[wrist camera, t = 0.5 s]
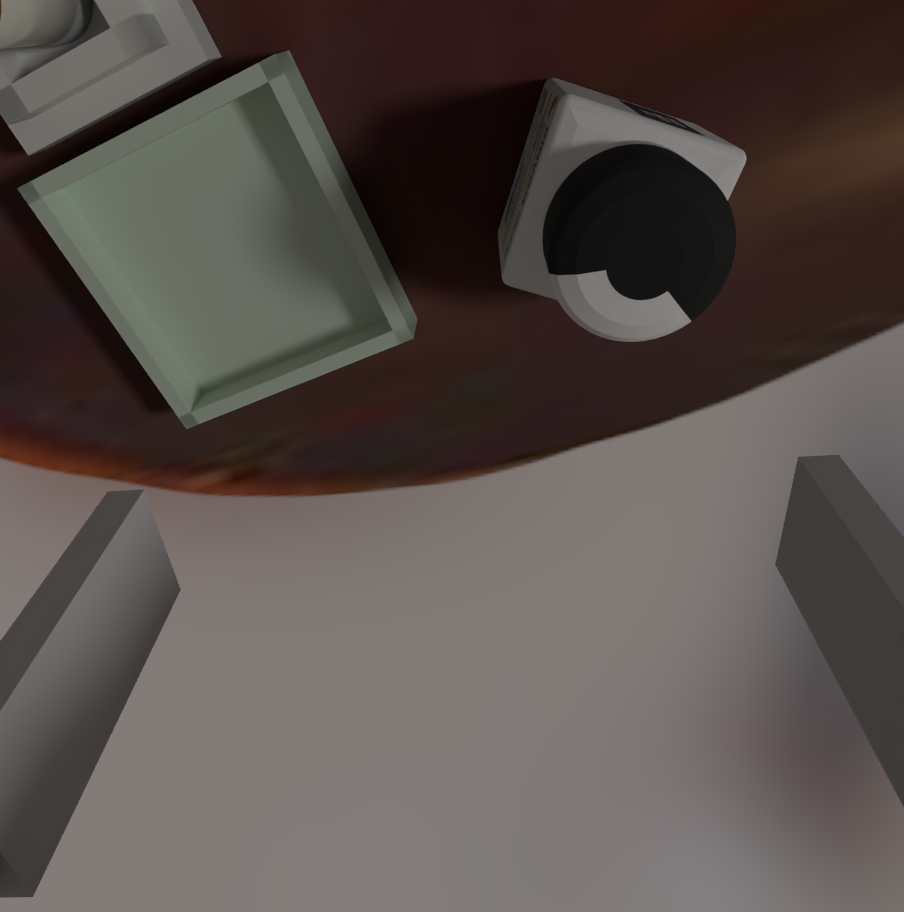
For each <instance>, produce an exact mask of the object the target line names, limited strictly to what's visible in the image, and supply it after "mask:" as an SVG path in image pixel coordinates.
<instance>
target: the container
mask: <svg viewBox="0 0 904 912" xmlns="http://www.w3.org/2000/svg"><path fill="white" fill-rule="evenodd" d="M745 162H746V155H745V152H744V151H743V150H741V149H740V148H738V147H736V146H734V145H732V144H731V143H729V142H727V141H725V140H723V139H721V138H720V137H718V136H716V135H714V134H712V133H711V132H709V131H707V130H705V129H703V128H701V127H700V126H698V125H696V124H694V123H690V122H687V121H684V120H681V119H678V118H675V117H672V116H669V115H666V114H663V113H660V112H657V111H654V110H651V109H648V108H645V107H642V106H639V105H636V104H633V103H630V102H627V101H624V100H620V99H617V98H614V97H611V96H608V95H605V94H602V93H599V92H596V91H593V90H590V89H587V88H584V87H581V86H578V85H575V84H572V83H569V82H566V81H563V80H560V79H557V78H550V79H548V80H547V81H546V83H545V84H544V87H543V90H542V93H541V96H540V100H539V103H538V106H537V109H536V112H535V115H534V119H533V122H532V125H531V128H530V131H529V134H528V138H527V141H526V144H525V147H524V150H523V153H522V157H521V160H520V163H519V166H518V169H517V172H516V176H515V179H514V182H513V185H512V188H511V191H510V195H509V198H508V201H507V204H506V207H505V210H504V214H503V217H502V220H501V223H500V226H499V229H498V244H499V254H500V264H501V275H502V280H503V282H504V283H505V284H506V285H508V286H510V287H514V288H517V289H521V290H524V291H528V292H531V293H535V294H538V295H542V296H545V297H548V298H552V299H555V300H558V301H559V303H560V305H561V306H562V308H563V309H564V310H565V312H566V313H567V314H568V315H569V316H570V317H571V318H572V319H573V320H574V321H575V322H576V323H577V324H578V325H580V326H581V327H583V328H584V329H586V330H587V331H589V332H591V333H593V334H595V335H597V336H600V337H604V338H607V339H611V340H616V341H627V342H635V341H645V340H650V339H655V338H659V337H661V336H664V335H667V334H670V333H672V332H674V331H676V330H678V329H680V328H682V327H683V326H685V325H686V324H688V323H690V322H691V321H692V320H694V319H695V318H696V317H697V316H699V315H700V314H701V313H702V312H703V311H704V310H705V309H706V308H707V307H708V306H709V305H710V304H711V303H712V301H713V300H714V299H715V297H716V296H717V295H718V293H719V292H720V290H721V288H722V287H723V285H724V283H725V281H726V279H727V277H728V274H729V272H730V270H731V267H732V263H733V259H734V255H735V247H736V228H735V222H734V217H733V213H732V210H731V207H730V205H729V203H728V199H729V197H730V195H731V193H732V191H733V188H734V186H735V184H736V182H737V180H738V178H739V176H740V173H741V171H742V169H743V167H744V165H745Z"/></svg>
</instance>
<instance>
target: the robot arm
mask: <svg viewBox="0 0 904 912" xmlns="http://www.w3.org/2000/svg"><path fill="white" fill-rule="evenodd" d="M776 567H777V568H778V570H779V572H780V574H781V576H782V578H783V580H784V582H785V584H786V585H787V587H788V589H789V591H790V593H791V595H792V597H793V599H794V600H795V602H796V604H797V606H798V608H799V610H800V612H801V614H802V616H803V618H804V619H805V621H806V623H807V625H808V627H809V629H810V631H811V633H812V635H813V636H814V638H815V640H816V642H817V644H818V646H819V648H820V650H821V652H822V654H823V655H824V657H825V659H826V661H827V663H828V665H829V667H830V669H831V671H832V672H833V674H834V676H835V678H836V680H837V682H838V684H839V686H840V687H841V690H842V691H843V693H844V695H845V697H846V699H847V701H848V703H849V705H850V707H851V708H852V710H853V712H854V714H855V716H856V718H857V720H858V722H859V724H860V726H861V727H862V729H863V731H864V733H865V735H866V737H867V739H868V741H869V742H870V744H871V746H872V748H873V750H874V752H875V754H876V756H877V758H878V760H879V761H880V763H881V765H882V767H883V769H884V771H885V773H886V775H887V777H888V779H889V780H890V782H891V784H892V786H893V788H894V790H895V792H896V794H897V796H898V797H899V799H900V801H901V803H902V805H903V807H904V537H903V536H902V535H901V534H900V532H899V531H898V530H897V529H896V527H895V526H894V525H893V523H892V522H891V521H890V520H889V518H888V517H887V516H886V514H885V513H884V512H883V511H882V509H881V508H880V507H879V506H878V504H877V503H876V502H875V501H874V499H873V498H872V497H871V495H870V494H869V493H868V492H867V490H866V489H865V488H864V487H863V485H862V484H861V483H860V481H859V480H858V479H857V478H856V477H855V475H854V474H853V473H852V471H851V470H850V469H849V467H848V466H847V465H846V464H845V462H844V461H843V460H842V459H841V457H840V456H839V455H828V456H807V457H798V461H797V465H796V470H795V475H794V480H793V484H792V489H791V494H790V498H789V503H788V508H787V513H786V517H785V522H784V527H783V531H782V536H781V541H780V546H779V550H778V555H777V560H776ZM179 592H180V587H179V584H178V581H177V579H176V576H175V573H174V570H173V568H172V565H171V562H170V559H169V557H168V554H167V552H166V549H165V546H164V543H163V540H162V538H161V536H160V532H159V530H158V527H157V524H156V521H155V519H154V516H153V513H152V510H151V508H150V505H149V502H148V500H147V497H146V494H145V491H144V490H132V491H131V490H130V491H110V492H107V493H106V495H105V496H104V498H103V499H102V500H101V502H100V503H99V505H98V506H97V507H96V509H95V510H94V512H93V513H92V514H91V516H90V517H89V519H88V520H87V521H86V523H85V524H84V525H83V527H82V528H81V530H80V531H79V532H78V534H77V535H76V537H75V538H74V540H73V541H72V542H71V544H70V545H69V546H68V548H67V549H66V551H65V552H64V553H63V555H62V556H61V558H60V559H59V560H58V562H57V563H56V565H55V566H54V567H53V569H52V570H51V571H50V573H49V574H48V576H47V577H46V578H45V580H44V581H43V583H42V584H41V585H40V587H39V588H38V589H37V591H36V592H35V594H34V595H33V597H32V598H31V599H30V601H29V602H28V603H27V605H26V606H25V608H24V609H23V610H22V612H21V613H20V615H19V616H18V617H17V619H16V620H15V622H14V623H13V624H12V626H11V627H10V628H9V630H8V631H7V633H6V634H5V635H4V637H3V638H2V640H1V641H0V897H33V895H34V893H35V891H36V889H37V887H38V885H39V883H40V881H41V879H42V877H43V874H44V873H45V870H46V868H47V866H48V864H49V862H50V860H51V858H52V856H53V854H54V852H55V850H56V848H57V845H58V843H59V841H60V839H61V837H62V835H63V833H64V831H65V829H66V827H67V825H68V823H69V821H70V818H71V816H72V814H73V812H74V810H75V808H76V806H77V804H78V802H79V800H80V798H81V796H82V793H83V791H84V789H85V787H86V785H87V783H88V781H89V779H90V777H91V775H92V773H93V771H94V768H95V766H96V764H97V762H98V760H99V758H100V756H101V754H102V752H103V750H104V748H105V746H106V744H107V742H108V739H109V737H110V735H111V733H112V731H113V729H114V727H115V725H116V723H117V721H118V719H119V717H120V714H121V712H122V710H123V708H124V706H125V704H126V702H127V700H128V698H129V696H130V694H131V692H132V689H133V687H134V685H135V683H136V681H137V679H138V677H139V675H140V672H141V671H142V668H143V666H144V665H145V662H146V660H147V658H148V656H149V654H150V652H151V650H152V648H153V646H154V644H155V642H156V640H157V637H158V635H159V633H160V631H161V629H162V627H163V625H164V623H165V621H166V619H167V617H168V615H169V613H170V610H171V608H172V606H173V604H174V602H175V600H176V598H177V596H178V594H179Z"/></svg>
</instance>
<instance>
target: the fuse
mask: <svg viewBox="0 0 904 912" xmlns="http://www.w3.org/2000/svg"><path fill="white" fill-rule="evenodd" d="M92 13H93V0H0V49H6V48H16V47H27V46H33V47H40V48H45V47H56V46H64V45H68V44H71V43H73V42H75V41H76V40H78V39H79V38H80V37H81V36H82V35H83V34H84V33H85V31H86V30H87V28H88V26H89V24H90V21H91V18H92Z"/></svg>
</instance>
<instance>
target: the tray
mask: <svg viewBox="0 0 904 912" xmlns="http://www.w3.org/2000/svg"><path fill="white" fill-rule="evenodd" d="M17 189H18V190H19V192H20V193H21V195H22V196H23V198H24V199H25V200H26V202H27V203H28V205H29V206H30V208H31V209H32V210H33V212H34V213H35V215H36V216H37V217H38V219H39V220H40V222H41V223H42V225H43V226H44V227H45V229H46V230H47V232H48V233H49V234H50V236H51V237H52V239H53V240H54V242H55V243H56V244H57V246H58V247H59V249H60V250H61V252H62V253H63V254H64V256H65V257H66V259H67V260H68V261H69V263H70V264H71V266H72V267H73V269H74V270H75V271H76V273H77V274H78V276H79V277H80V278H81V280H82V281H83V283H84V284H85V286H86V287H87V288H88V290H89V291H90V293H91V294H92V296H93V297H94V298H95V300H96V301H97V303H98V304H99V305H100V307H101V308H102V310H103V311H104V313H105V314H106V315H107V317H108V318H109V320H110V321H111V322H112V324H113V325H114V327H115V328H116V330H117V331H118V332H119V334H120V335H121V337H122V338H123V340H124V341H125V342H126V344H127V345H128V347H129V348H130V349H131V351H132V352H133V354H134V355H135V357H136V358H137V359H138V361H139V362H140V364H141V365H142V366H143V368H144V369H145V371H146V372H147V374H148V375H149V376H150V378H151V379H152V381H153V382H154V384H155V385H156V386H157V388H158V389H159V391H160V392H161V393H162V395H163V396H164V398H165V399H166V401H167V402H168V403H169V405H170V406H171V408H172V409H173V410H174V412H175V413H176V415H177V416H178V418H179V419H180V420H181V422H182V423H183V425H184V426H185V428H186V429H188V428H190V427H193V426H195V425H198V424H200V423H203V422H205V421H208V420H210V419H213V418H215V417H218V416H220V415H223V414H225V413H228V412H230V411H233V410H235V409H238V408H240V407H243V406H245V405H248V404H250V403H253V402H255V401H258V400H260V399H263V398H265V397H268V396H270V395H273V394H275V393H278V392H280V391H283V390H285V389H288V388H290V387H293V386H295V385H298V384H301V383H303V382H306V381H308V380H311V379H313V378H316V377H318V376H321V375H323V374H326V373H328V372H331V371H333V370H336V369H338V368H341V367H343V366H346V365H348V364H351V363H353V362H356V361H358V360H361V359H363V358H366V357H368V356H371V355H373V354H376V353H378V352H381V351H383V350H386V349H388V348H391V347H393V346H396V345H398V344H401V343H403V342H406V341H408V340H411V339H413V338H414V333H415V328H416V323H417V317H416V315H415V313H414V311H413V309H412V307H411V305H410V302H409V300H408V298H407V296H406V294H405V292H404V290H403V288H402V286H401V284H400V281H399V279H398V277H397V275H396V273H395V271H394V269H393V267H392V265H391V263H390V261H389V258H388V256H387V254H386V252H385V250H384V248H383V246H382V244H381V242H380V240H379V238H378V235H377V233H376V231H375V229H374V227H373V225H372V223H371V221H370V219H369V217H368V214H367V212H366V210H365V208H364V206H363V204H362V202H361V200H360V198H359V196H358V194H357V191H356V189H355V187H354V185H353V183H352V181H351V179H350V177H349V175H348V173H347V171H346V168H345V166H344V164H343V162H342V160H341V158H340V156H339V154H338V152H337V150H336V147H335V145H334V143H333V141H332V139H331V137H330V135H329V133H328V131H327V129H326V127H325V124H324V122H323V120H322V118H321V116H320V114H319V112H318V110H317V108H316V106H315V104H314V101H313V99H312V97H311V95H310V93H309V91H308V89H307V87H306V85H305V83H304V80H303V78H302V76H301V74H300V72H299V70H298V68H297V66H296V64H295V62H294V60H293V57H292V55H291V53H290V51H285V52H281V53H277V54H274V55H272V56H270V57H268V58H266V59H264V60H263V61H261V62H259V63H257V64H255V65H253V66H251V67H249V68H247V69H245V70H243V71H241V72H239V73H238V74H236V75H234V76H232V77H230V78H228V79H226V80H224V81H222V82H220V83H218V84H216V85H215V86H213V87H211V88H209V89H207V90H205V91H203V92H201V93H199V94H197V95H195V96H193V97H191V98H190V99H188V100H186V101H184V102H182V103H180V104H178V105H176V106H174V107H172V108H170V109H168V110H167V111H165V112H163V113H161V114H159V115H157V116H155V117H153V118H151V119H149V120H147V121H145V122H144V123H142V124H140V125H138V126H136V127H134V128H132V129H130V130H128V131H126V132H124V133H122V134H120V135H119V136H117V137H115V138H113V139H111V140H109V141H107V142H105V143H103V144H101V145H99V146H97V147H96V148H94V149H92V150H90V151H88V152H86V153H84V154H82V155H80V156H78V157H76V158H74V159H72V160H71V161H69V162H67V163H65V164H63V165H61V166H59V167H57V168H55V169H53V170H51V171H49V172H48V173H46V174H44V175H42V176H40V177H38V178H36V179H34V180H32V181H30V182H28V183H26V184H24V185H23V186H21V187H19V188H17Z"/></svg>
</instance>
